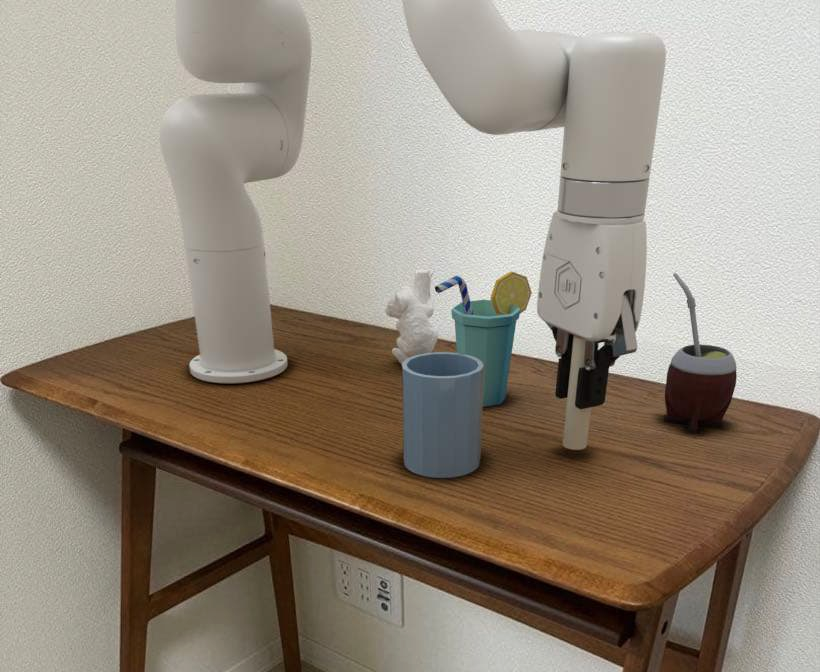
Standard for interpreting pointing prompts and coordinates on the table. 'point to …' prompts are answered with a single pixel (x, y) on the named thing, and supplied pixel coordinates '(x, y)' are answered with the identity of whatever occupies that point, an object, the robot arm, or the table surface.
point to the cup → (490, 328)
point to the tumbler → (442, 414)
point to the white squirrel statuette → (413, 317)
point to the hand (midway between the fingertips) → (579, 399)
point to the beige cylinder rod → (575, 417)
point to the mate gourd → (699, 380)
